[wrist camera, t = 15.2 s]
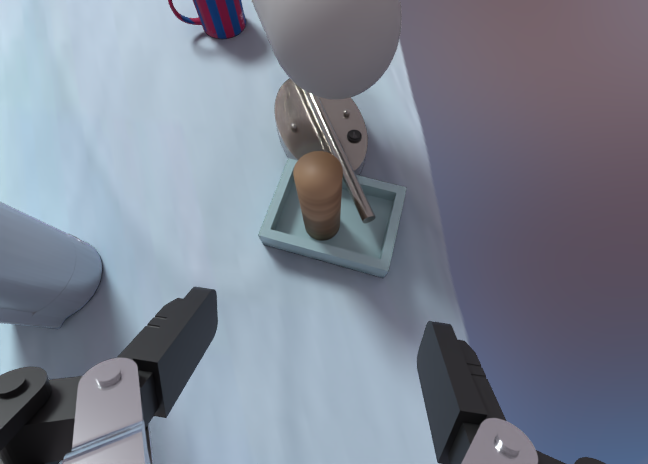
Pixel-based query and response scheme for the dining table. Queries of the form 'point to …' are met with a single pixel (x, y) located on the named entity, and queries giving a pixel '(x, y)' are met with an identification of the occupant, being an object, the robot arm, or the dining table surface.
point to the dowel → (319, 193)
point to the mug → (217, 17)
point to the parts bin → (353, 236)
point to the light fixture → (329, 75)
